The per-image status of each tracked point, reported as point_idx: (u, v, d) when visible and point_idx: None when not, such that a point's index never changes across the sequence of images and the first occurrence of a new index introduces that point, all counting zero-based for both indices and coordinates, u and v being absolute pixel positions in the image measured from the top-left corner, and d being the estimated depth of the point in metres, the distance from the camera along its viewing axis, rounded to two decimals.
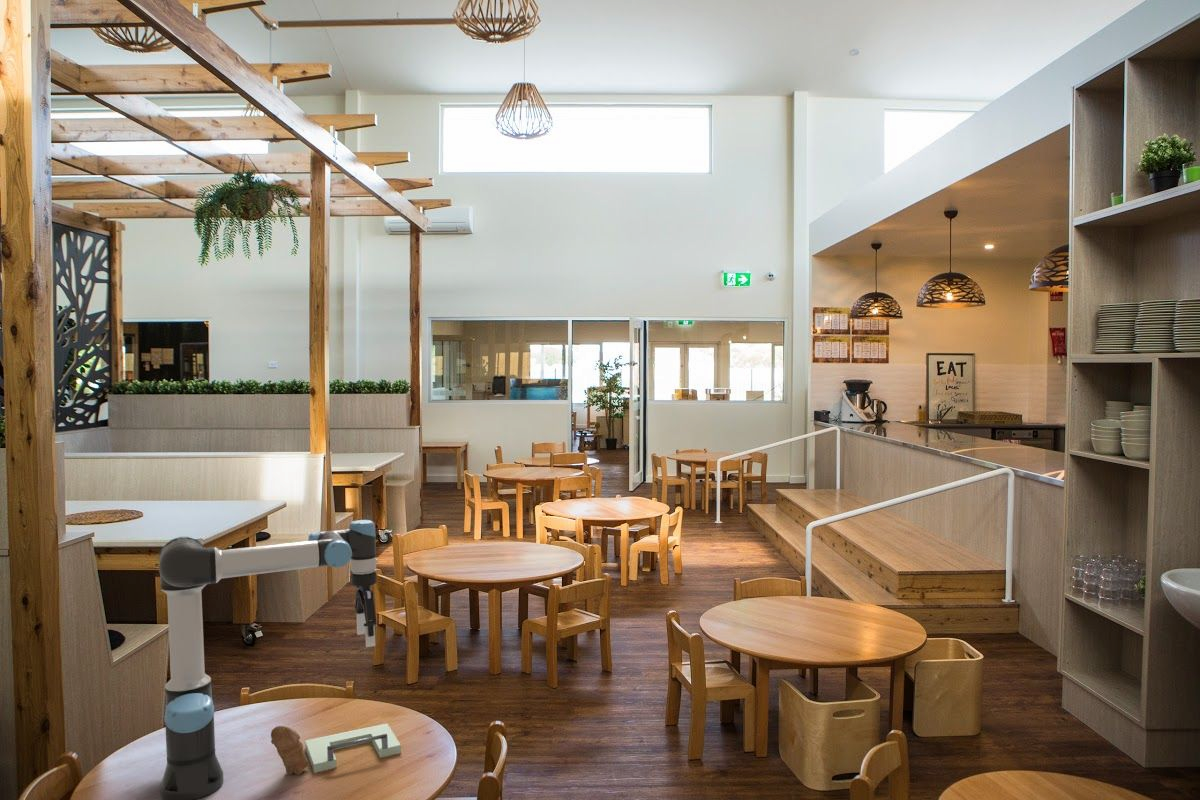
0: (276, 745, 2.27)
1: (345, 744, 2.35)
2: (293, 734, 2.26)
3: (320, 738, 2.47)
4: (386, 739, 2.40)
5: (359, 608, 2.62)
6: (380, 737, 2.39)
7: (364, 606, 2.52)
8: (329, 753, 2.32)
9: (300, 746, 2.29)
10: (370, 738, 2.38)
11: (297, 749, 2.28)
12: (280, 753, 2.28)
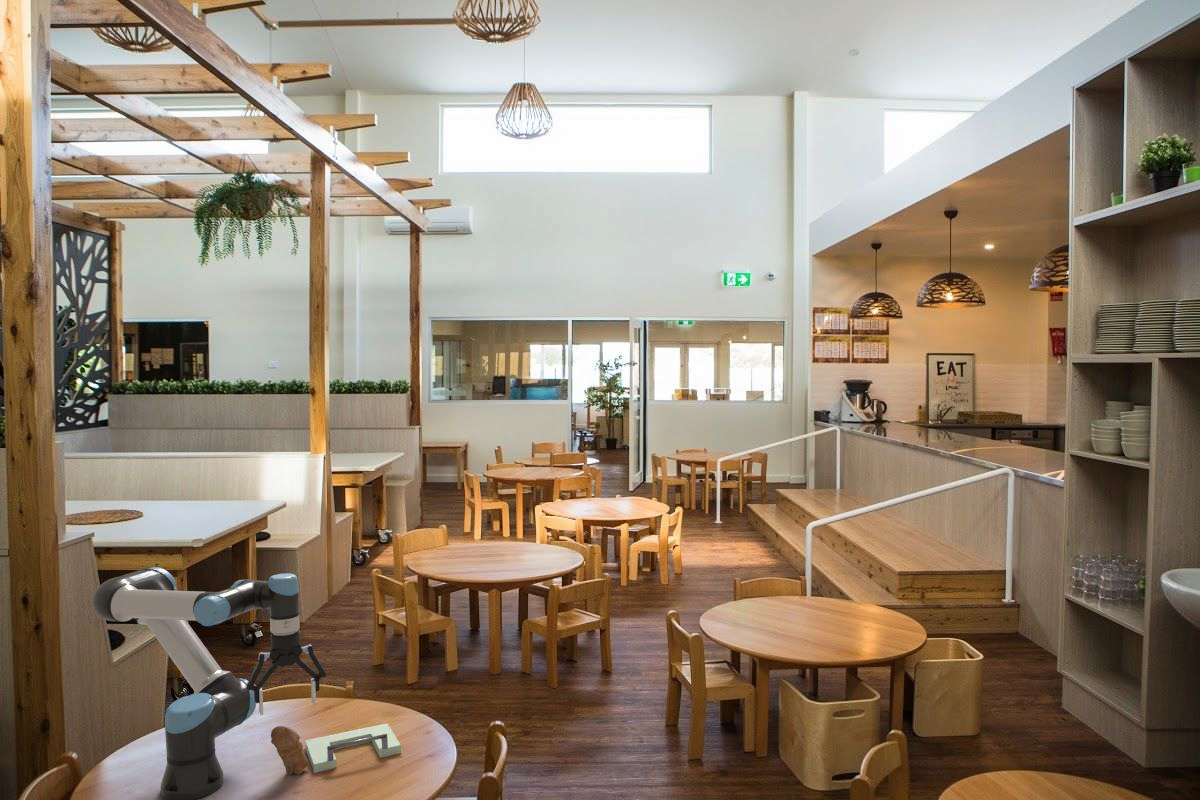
0: (276, 745, 2.27)
1: (345, 744, 2.35)
2: (293, 734, 2.26)
3: (320, 738, 2.47)
4: (386, 739, 2.40)
5: None
6: (380, 737, 2.39)
7: (267, 668, 2.28)
8: (329, 753, 2.32)
9: (300, 746, 2.29)
10: (370, 738, 2.38)
11: (297, 749, 2.28)
12: (280, 753, 2.28)
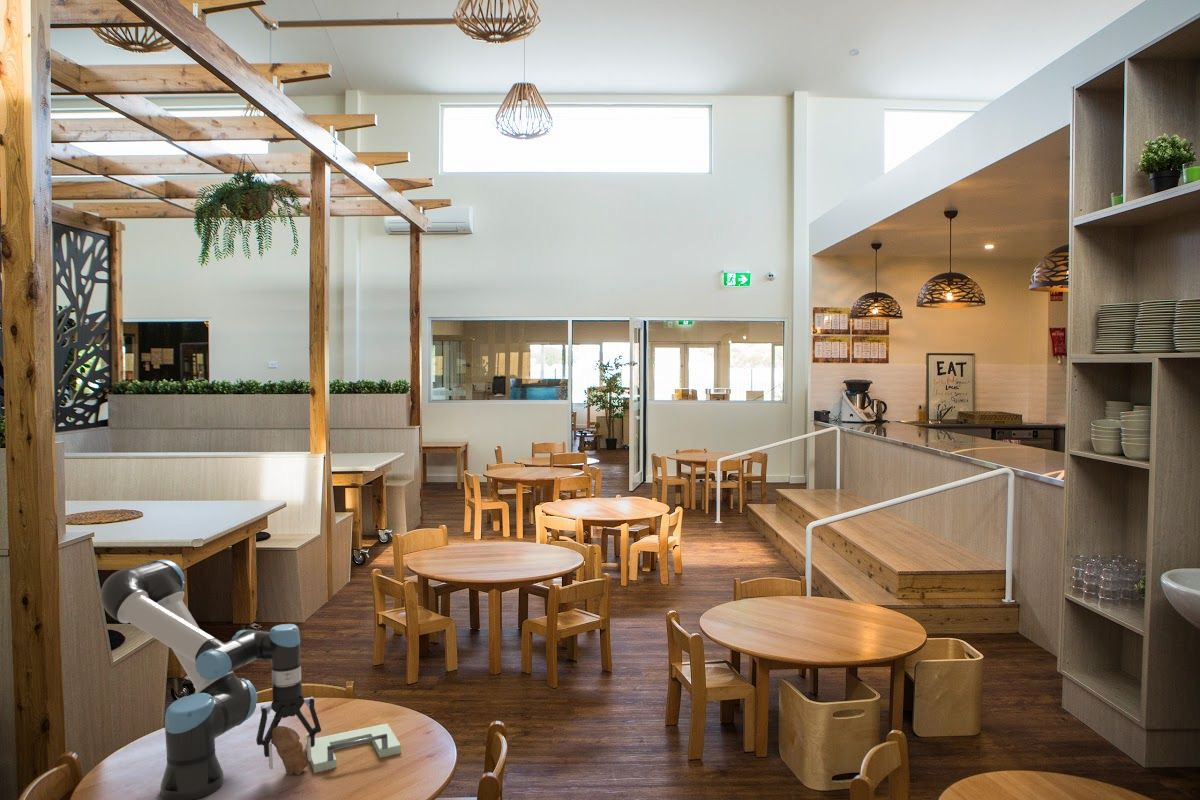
0: (276, 745, 2.27)
1: (345, 744, 2.35)
2: (293, 734, 2.26)
3: (320, 738, 2.47)
4: (386, 739, 2.40)
5: None
6: (380, 737, 2.39)
7: None
8: (329, 753, 2.32)
9: (300, 746, 2.29)
10: (370, 738, 2.38)
11: (296, 749, 2.28)
12: (280, 753, 2.28)
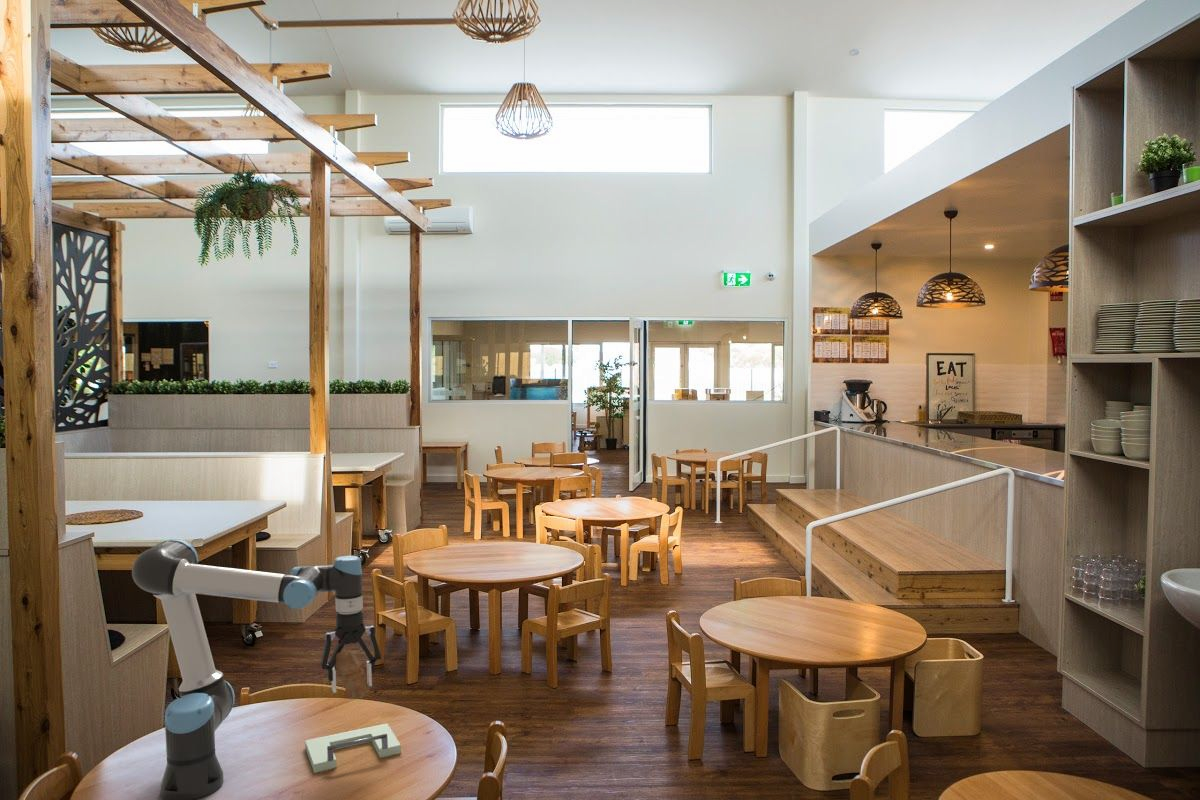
0: (339, 670, 2.38)
1: (345, 744, 2.35)
2: (356, 659, 2.37)
3: (320, 738, 2.47)
4: (386, 739, 2.40)
5: (366, 654, 2.44)
6: (380, 737, 2.39)
7: (336, 647, 2.40)
8: (329, 753, 2.32)
9: (361, 671, 2.40)
10: (370, 738, 2.38)
11: (359, 674, 2.39)
12: (343, 678, 2.39)
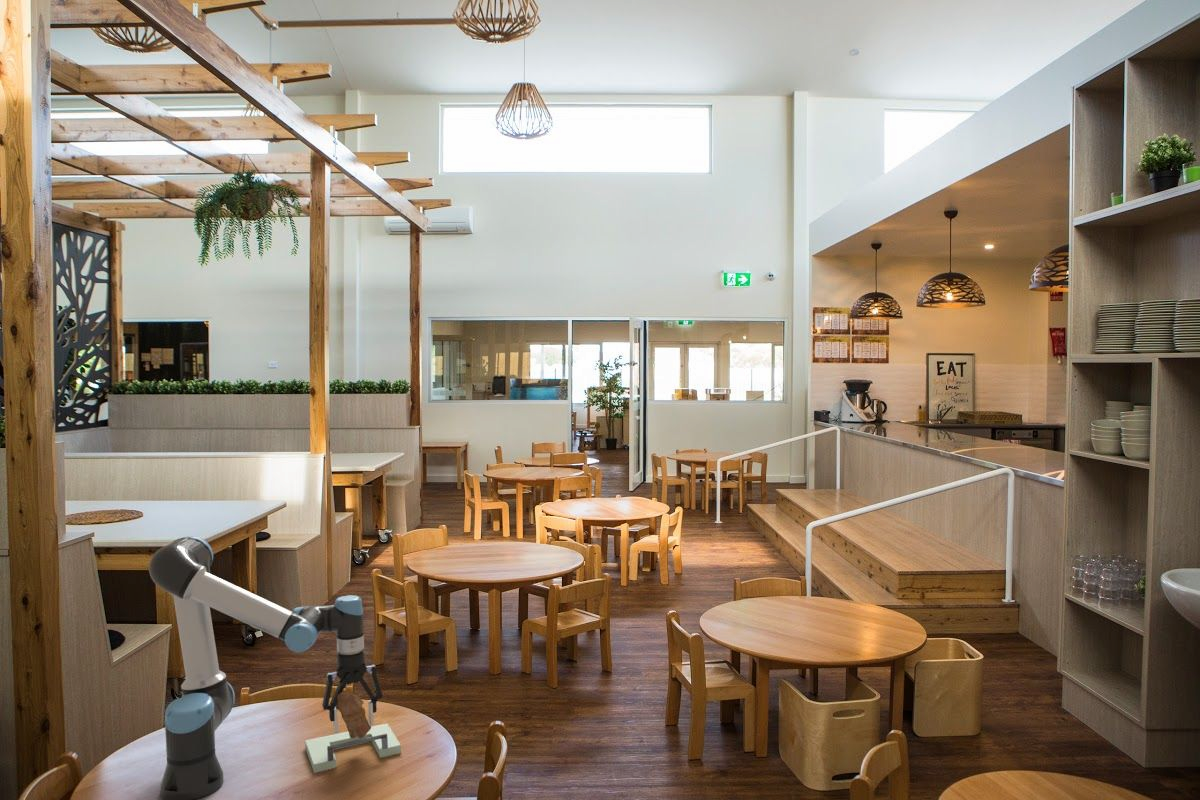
0: (341, 710, 2.39)
1: (345, 744, 2.35)
2: (357, 699, 2.38)
3: (320, 738, 2.47)
4: (386, 739, 2.40)
5: None
6: (380, 737, 2.39)
7: (337, 687, 2.40)
8: (329, 753, 2.32)
9: (363, 711, 2.41)
10: (370, 738, 2.38)
11: (360, 714, 2.39)
12: (344, 718, 2.39)
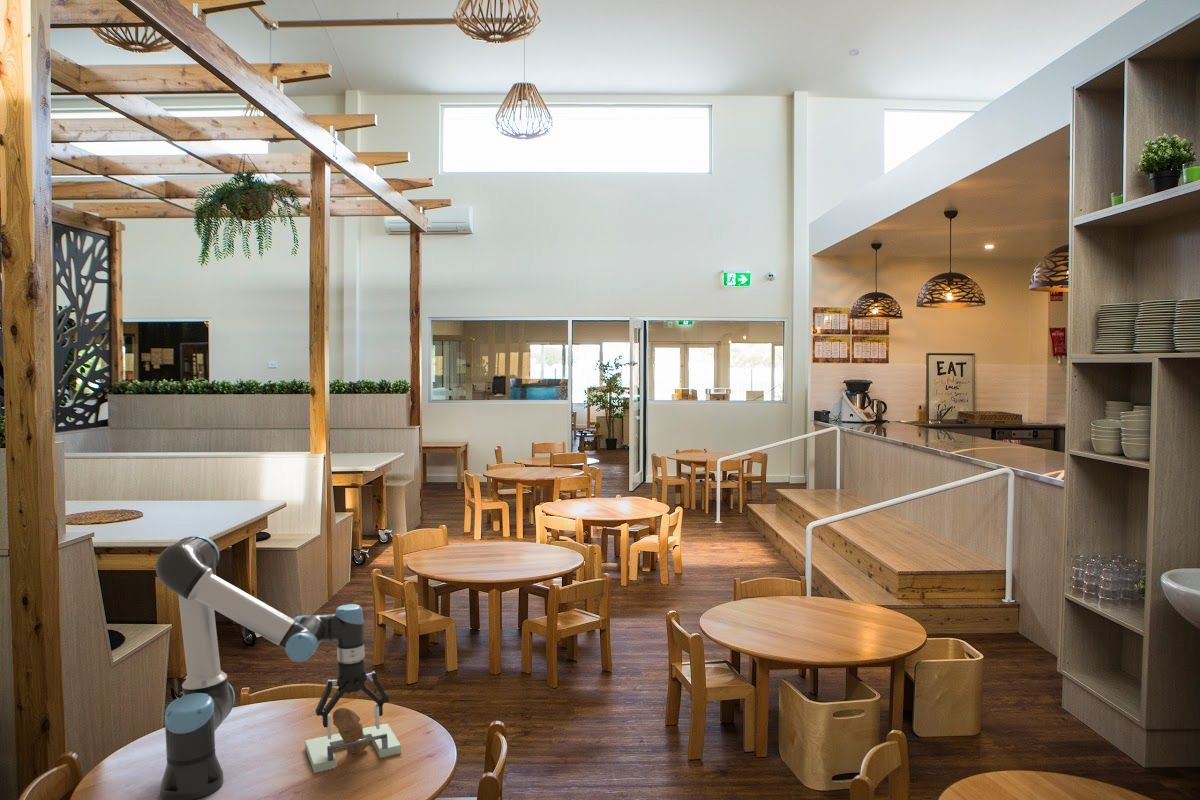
0: (338, 726, 2.39)
1: (345, 744, 2.35)
2: (354, 716, 2.38)
3: (320, 738, 2.47)
4: (386, 739, 2.40)
5: None
6: (380, 737, 2.39)
7: (334, 694, 2.40)
8: (329, 753, 2.32)
9: (360, 727, 2.40)
10: (370, 738, 2.38)
11: (357, 730, 2.39)
12: (341, 734, 2.39)
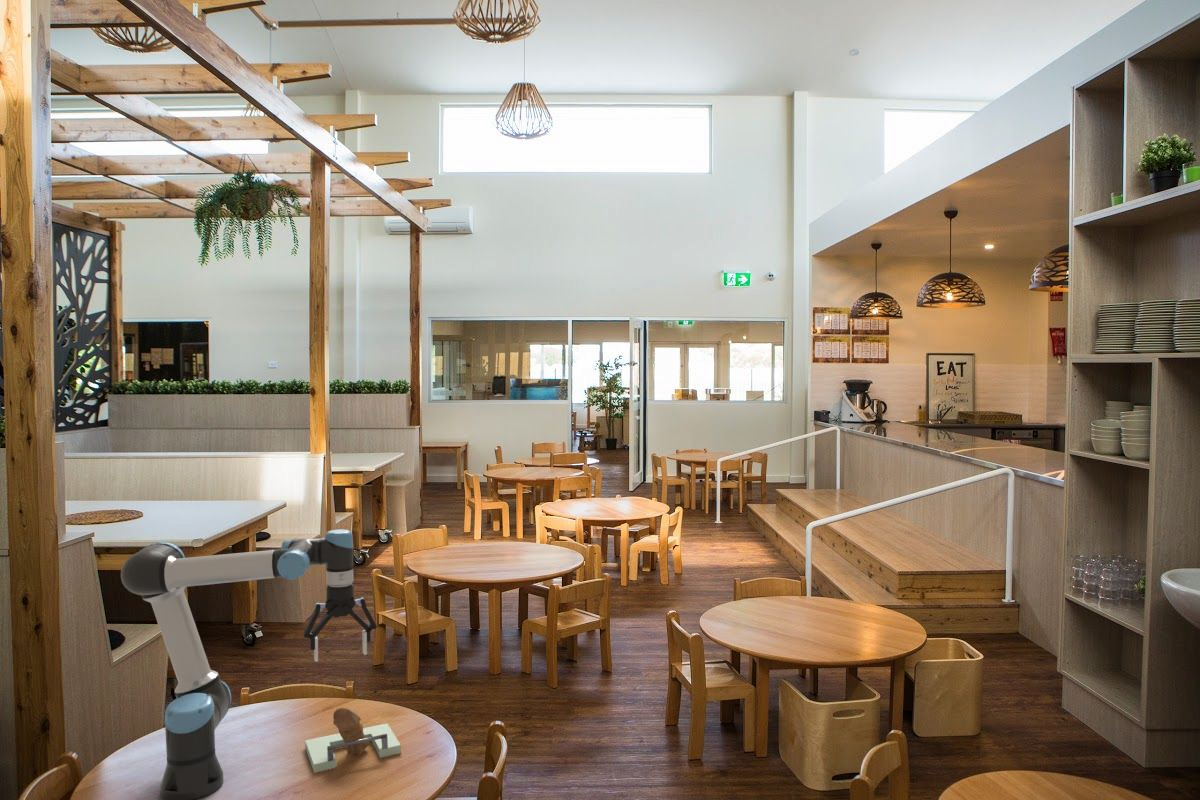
0: (338, 726, 2.39)
1: (345, 744, 2.35)
2: (354, 716, 2.38)
3: (320, 738, 2.47)
4: (386, 739, 2.40)
5: None
6: (380, 737, 2.39)
7: None
8: (329, 753, 2.32)
9: (360, 727, 2.40)
10: (370, 738, 2.38)
11: (358, 730, 2.39)
12: (342, 734, 2.39)
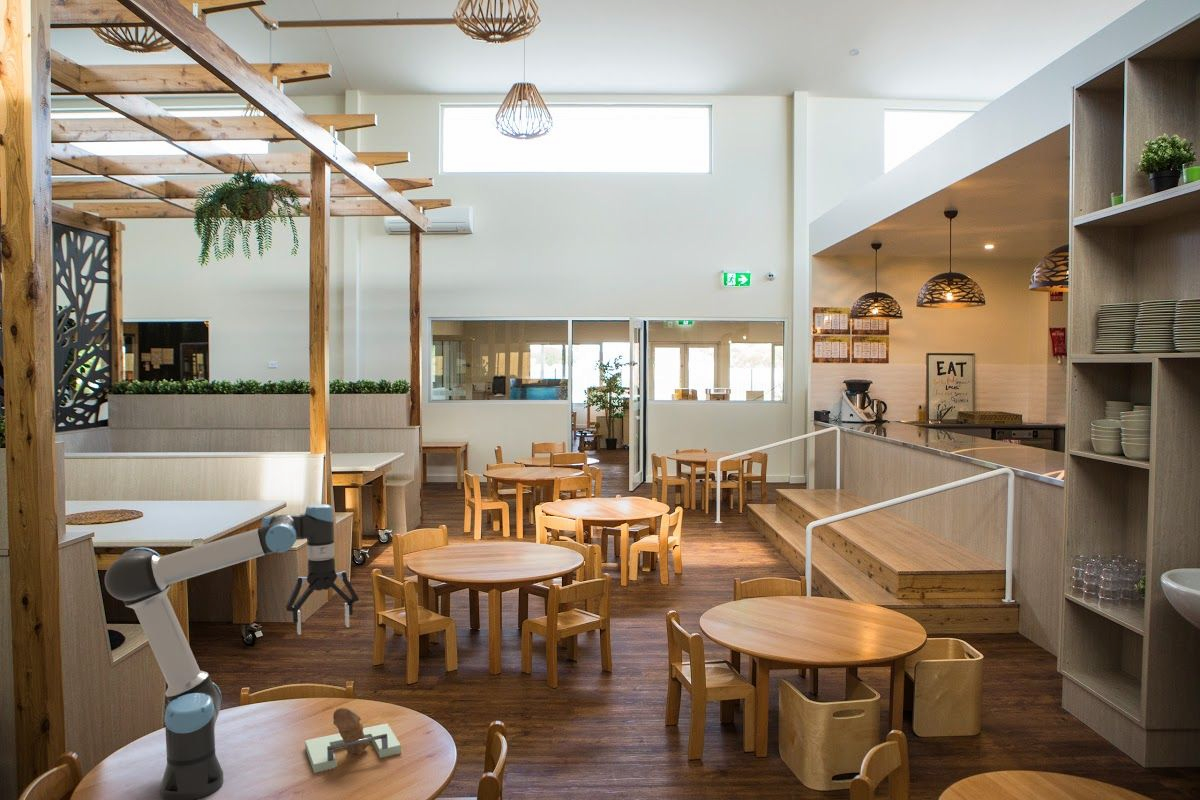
0: (338, 726, 2.39)
1: (345, 744, 2.35)
2: (354, 716, 2.38)
3: (320, 738, 2.47)
4: (386, 739, 2.40)
5: None
6: (380, 737, 2.39)
7: (305, 591, 2.44)
8: (329, 753, 2.32)
9: (360, 727, 2.40)
10: (370, 738, 2.38)
11: (357, 730, 2.39)
12: (342, 734, 2.39)
